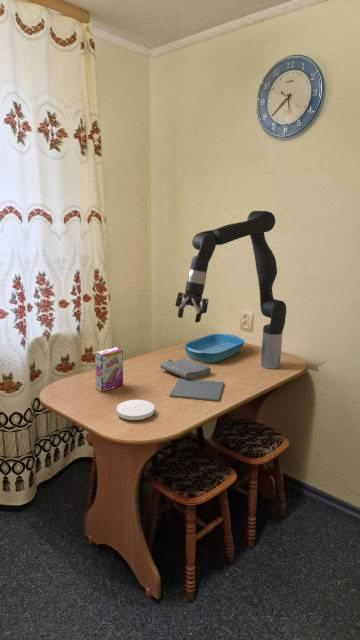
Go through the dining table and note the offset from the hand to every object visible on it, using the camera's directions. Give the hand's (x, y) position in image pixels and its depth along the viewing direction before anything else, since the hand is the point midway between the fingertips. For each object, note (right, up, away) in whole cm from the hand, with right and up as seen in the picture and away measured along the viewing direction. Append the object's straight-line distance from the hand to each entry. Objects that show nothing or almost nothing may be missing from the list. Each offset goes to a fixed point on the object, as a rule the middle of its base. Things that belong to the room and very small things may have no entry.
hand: (188, 319), depth 181 cm
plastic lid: (-20, -35, -19) cm, 45 cm away
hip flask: (+5, -25, +15) cm, 29 cm away
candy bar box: (-33, -29, +4) cm, 44 cm away
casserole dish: (+15, -19, +49) cm, 54 cm away
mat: (+4, -30, +2) cm, 30 cm away
